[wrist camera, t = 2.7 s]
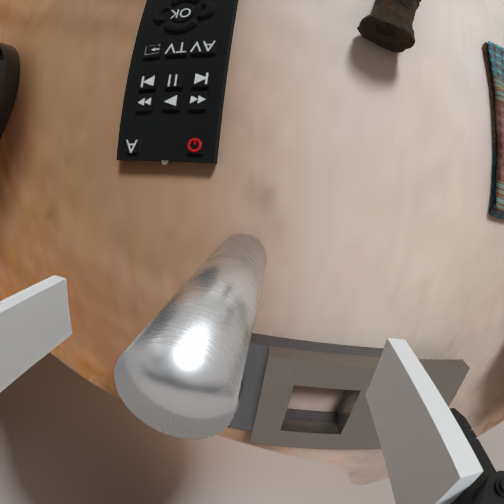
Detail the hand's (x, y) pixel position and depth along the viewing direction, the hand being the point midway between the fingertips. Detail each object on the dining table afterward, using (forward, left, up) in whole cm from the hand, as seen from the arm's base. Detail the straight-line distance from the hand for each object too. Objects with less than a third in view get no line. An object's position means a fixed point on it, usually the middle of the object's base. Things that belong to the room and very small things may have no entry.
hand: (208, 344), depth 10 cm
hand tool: (+10, +27, -12) cm, 31 cm away
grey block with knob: (+12, -11, -12) cm, 20 cm away
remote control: (-7, +22, -12) cm, 26 cm away
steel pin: (0, 0, -12) cm, 12 cm away
